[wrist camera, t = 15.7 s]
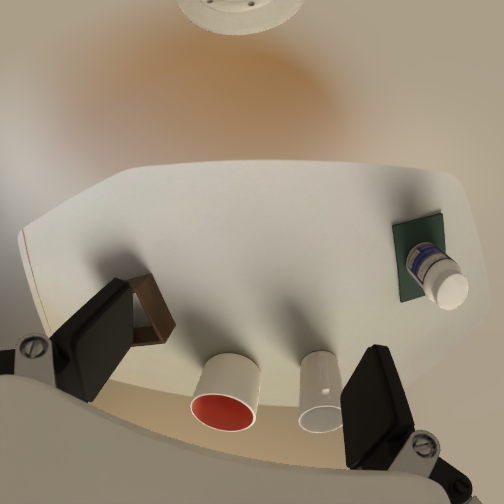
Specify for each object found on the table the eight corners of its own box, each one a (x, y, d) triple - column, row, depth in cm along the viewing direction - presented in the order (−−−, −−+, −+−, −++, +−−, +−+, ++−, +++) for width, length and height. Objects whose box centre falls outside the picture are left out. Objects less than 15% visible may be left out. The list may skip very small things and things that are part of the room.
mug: (337, 377, 46) (343, 431, 35) (298, 378, 47) (297, 433, 36) (343, 331, 42) (354, 387, 31) (300, 333, 43) (300, 390, 32)
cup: (201, 379, 50) (185, 419, 41) (212, 341, 46) (195, 384, 37) (252, 395, 50) (244, 437, 41) (270, 360, 46) (264, 405, 37)
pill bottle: (441, 269, 36) (473, 302, 27) (409, 284, 38) (435, 321, 29) (435, 234, 35) (470, 262, 26) (401, 249, 36) (429, 282, 27)
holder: (107, 284, 45) (91, 298, 40) (151, 273, 43) (137, 288, 38) (131, 331, 48) (119, 348, 43) (176, 325, 46) (165, 343, 41)
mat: (391, 225, 36) (393, 226, 35) (441, 212, 34) (442, 213, 34) (400, 301, 39) (401, 302, 39) (445, 287, 38) (446, 288, 37)
